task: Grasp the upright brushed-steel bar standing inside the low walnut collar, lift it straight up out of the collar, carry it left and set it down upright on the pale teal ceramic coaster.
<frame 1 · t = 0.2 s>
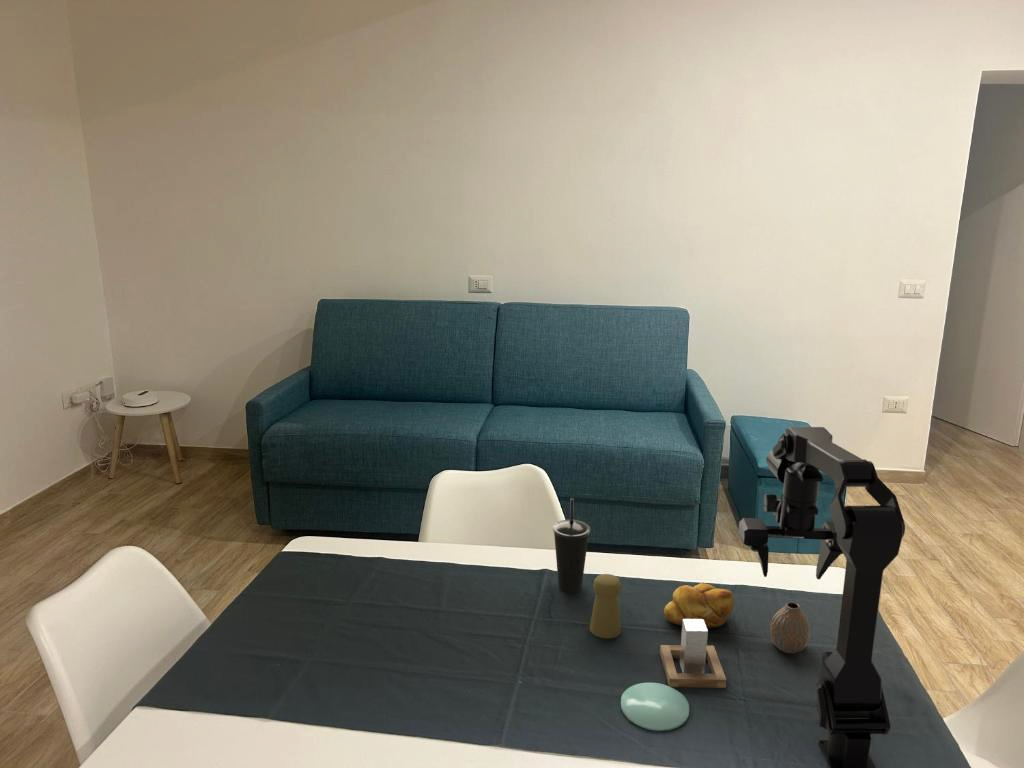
hand: (791, 576, 142), 14 cm above the table, tool pointing down, fingers open, 9 cm apart
drinking cup: (569, 588, 166), on the table
steel bar: (693, 647, 138), in the walnut collar
bread roll: (695, 620, 155), on the table
wooden pepper shaker: (605, 630, 151), on the table
walnut collar: (691, 669, 140), on the table
teal coaster: (654, 707, 130), on the table
vase: (788, 648, 146), on the table
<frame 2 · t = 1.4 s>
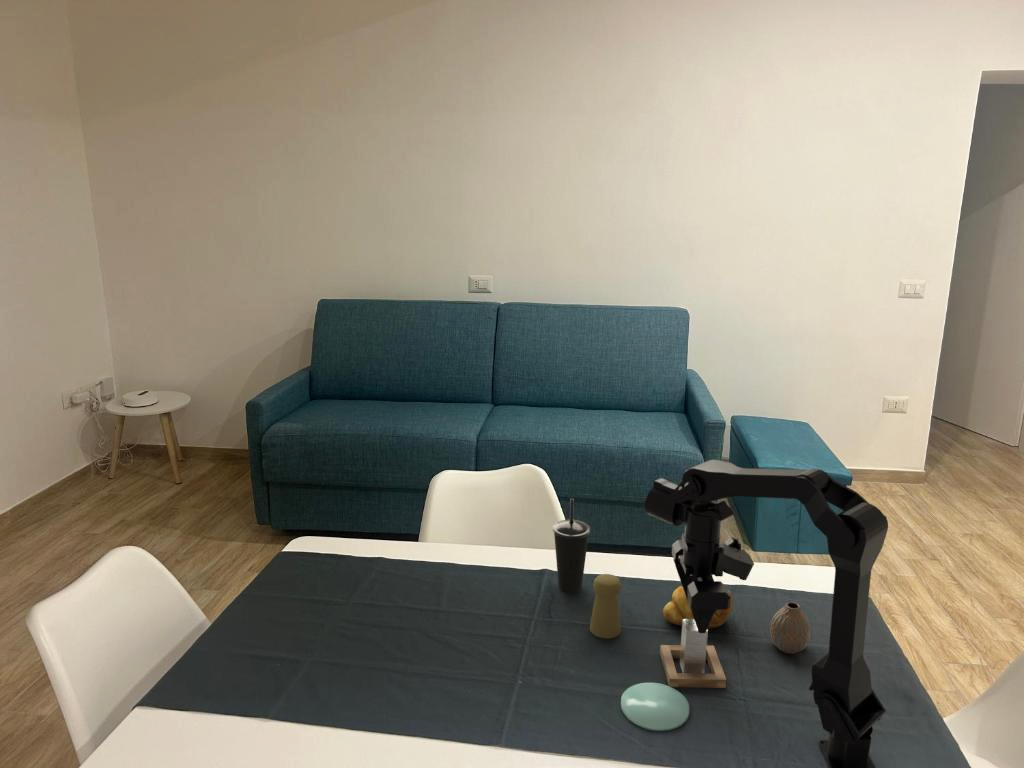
hand: (696, 617, 137), 11 cm above the table, tool pointing down, fingers open, 9 cm apart
nothing on the table moved.
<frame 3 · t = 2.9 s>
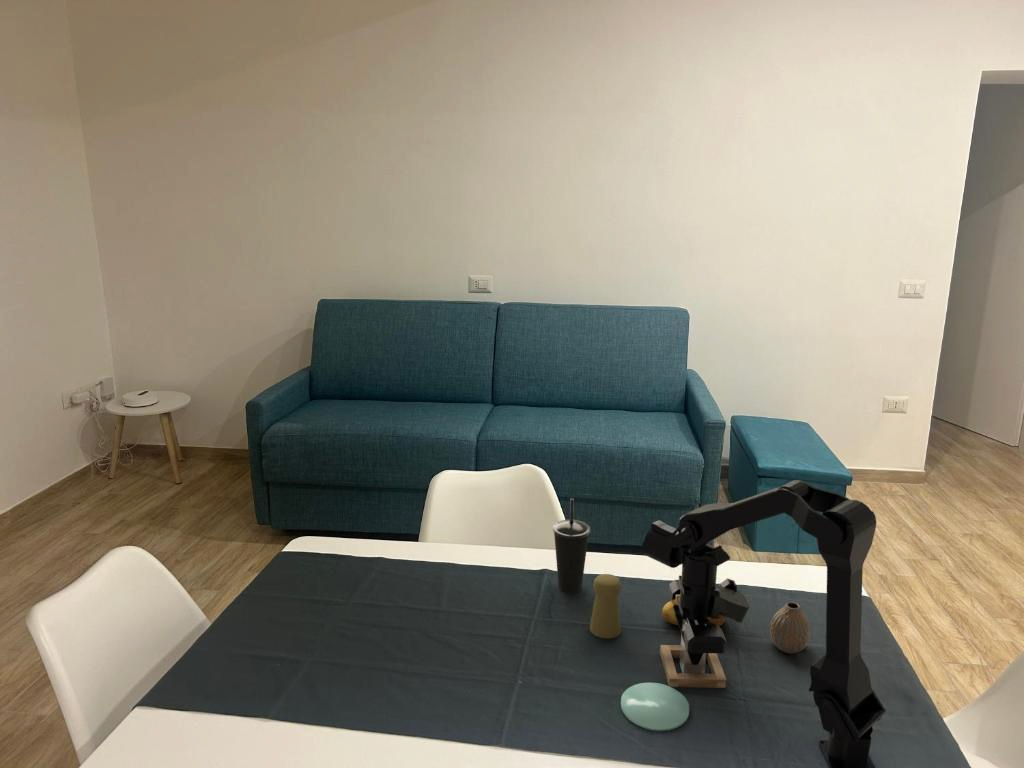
hand: (692, 657, 139), 3 cm above the table, tool pointing down, fingers closed on steel bar, 4 cm apart
steel bar: (693, 647, 138), in the walnut collar, touching gripper
everything else where it was.
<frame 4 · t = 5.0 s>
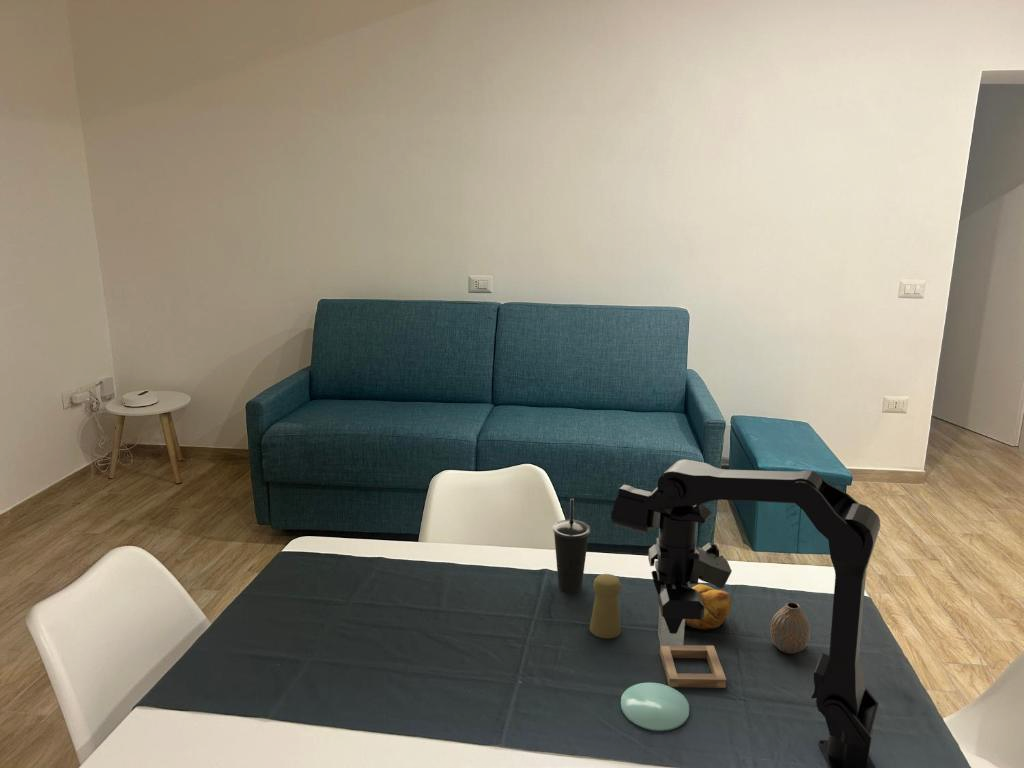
hand: (671, 625, 130), 13 cm above the table, tool pointing down, fingers closed on steel bar, 4 cm apart
steel bar: (671, 615, 129), point 15 cm above the table, touching gripper
everything else where it was.
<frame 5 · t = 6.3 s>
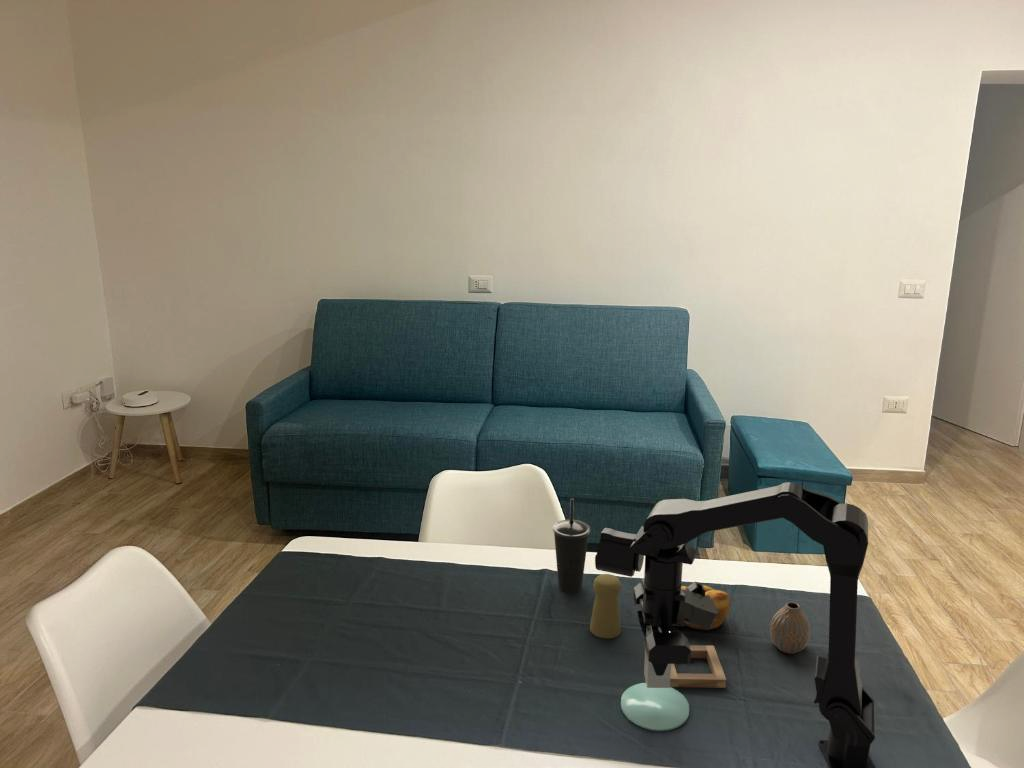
hand: (657, 667, 128), 8 cm above the table, tool pointing down, fingers closed on steel bar, 4 cm apart
steel bar: (658, 656, 127), point 10 cm above the table, touching gripper
everything else where it was.
when the fingers open (4 cm above the table, at t = 7.2 s): steel bar drops 1 cm, resting on teal coaster.
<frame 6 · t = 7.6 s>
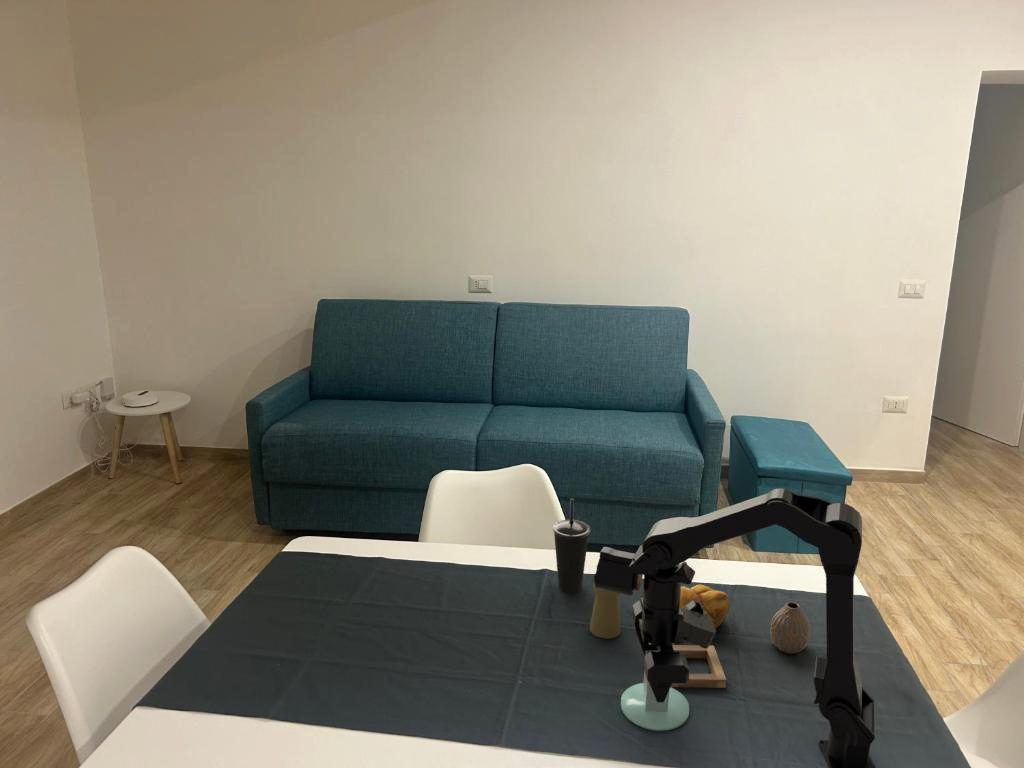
hand: (656, 684, 129), 4 cm above the table, tool pointing down, fingers open, 8 cm apart
steel bar: (656, 681, 128), on the teal coaster, point 5 cm above the table
everything else where it was.
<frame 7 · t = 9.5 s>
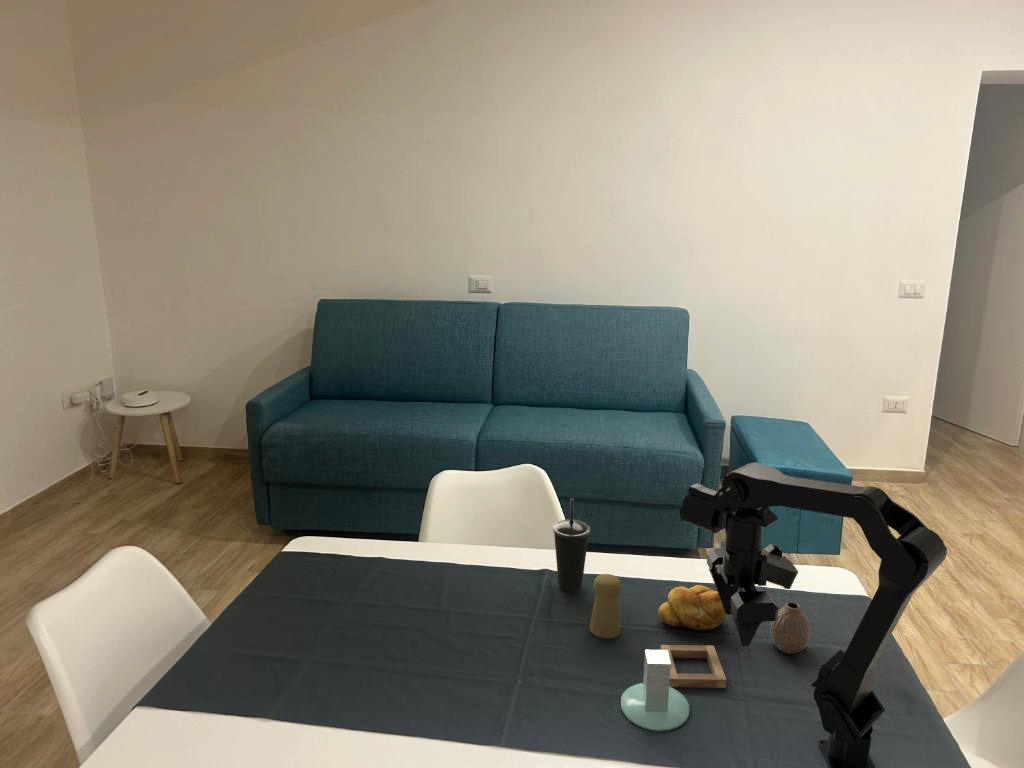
hand: (736, 629, 129), 13 cm above the table, tool pointing down, fingers open, 9 cm apart
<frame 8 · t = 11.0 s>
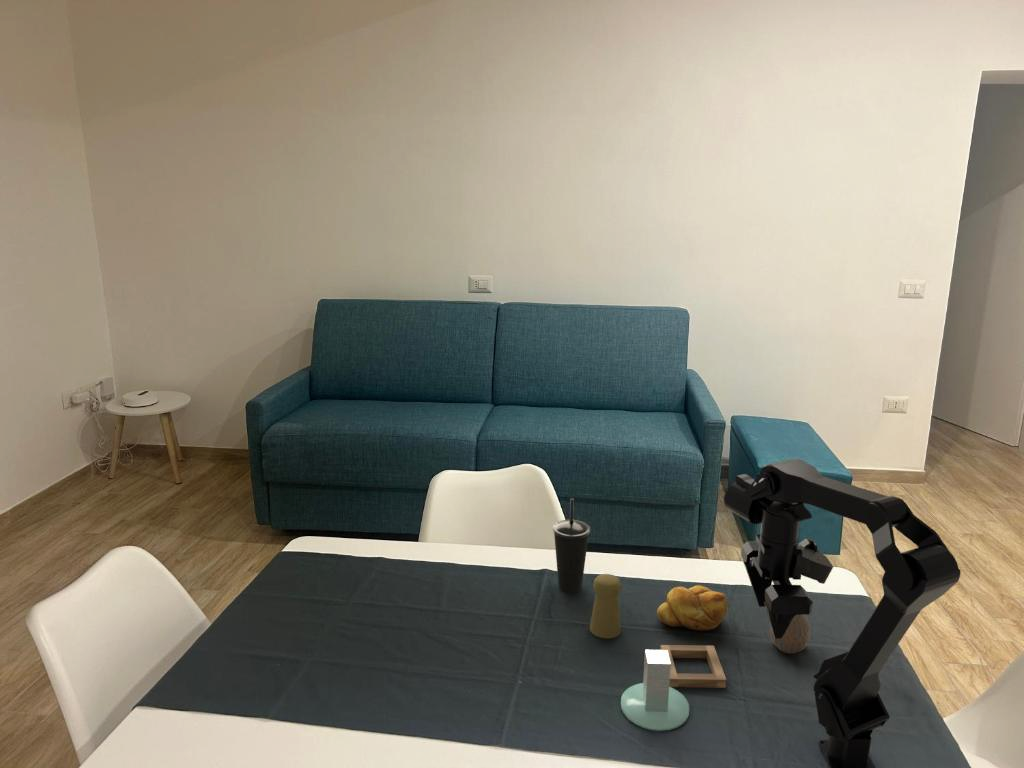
hand: (769, 621, 131), 13 cm above the table, tool pointing down, fingers open, 9 cm apart
at the end: steel bar 0.0 cm from the teal coaster (horizontally); steel bar tilted 0°; the gripper is holding nothing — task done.
